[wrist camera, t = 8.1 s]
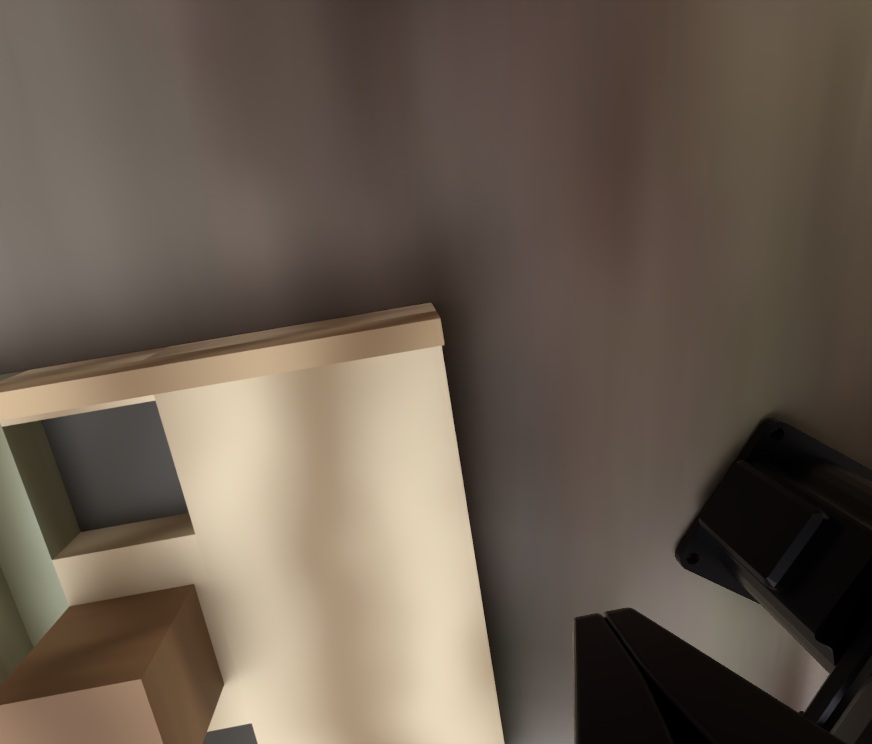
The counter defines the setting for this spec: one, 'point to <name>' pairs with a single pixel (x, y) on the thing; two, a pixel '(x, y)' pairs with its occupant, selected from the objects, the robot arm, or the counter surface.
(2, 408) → the trap track
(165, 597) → the walnut block
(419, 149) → the counter surface
